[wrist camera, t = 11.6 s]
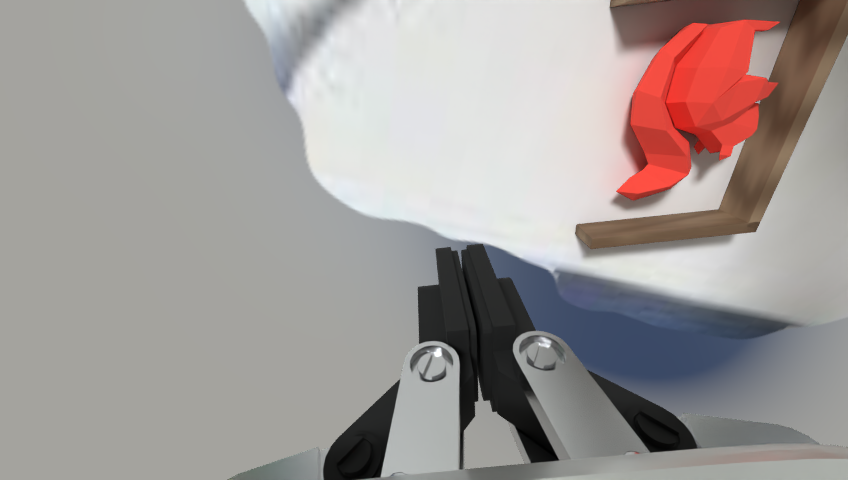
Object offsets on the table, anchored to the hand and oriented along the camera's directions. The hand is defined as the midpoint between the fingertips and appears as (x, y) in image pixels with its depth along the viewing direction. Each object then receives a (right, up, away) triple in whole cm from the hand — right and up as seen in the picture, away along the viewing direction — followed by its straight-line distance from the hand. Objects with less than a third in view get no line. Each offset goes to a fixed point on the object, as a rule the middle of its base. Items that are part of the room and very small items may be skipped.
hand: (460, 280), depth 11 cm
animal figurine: (+23, +13, +19) cm, 33 cm away
